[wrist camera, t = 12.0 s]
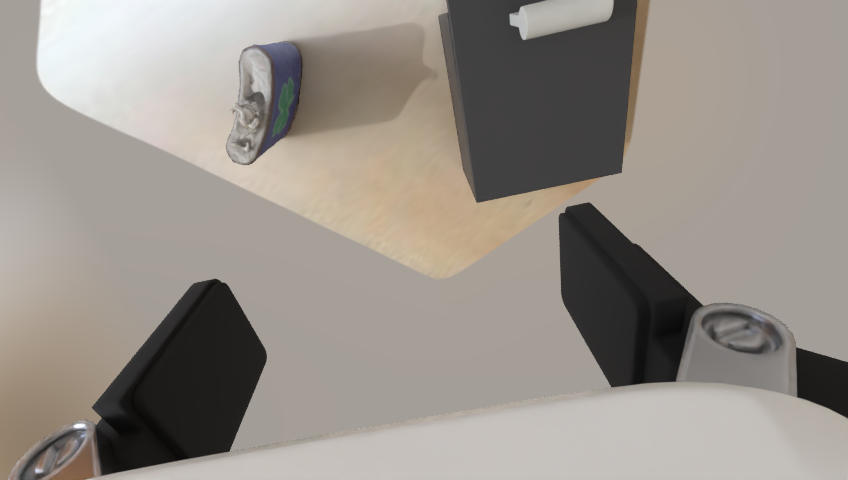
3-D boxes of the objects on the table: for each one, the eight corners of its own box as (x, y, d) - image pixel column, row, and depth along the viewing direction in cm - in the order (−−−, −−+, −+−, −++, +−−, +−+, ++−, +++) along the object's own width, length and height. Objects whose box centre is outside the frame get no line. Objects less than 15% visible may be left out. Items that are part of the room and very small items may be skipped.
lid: (446, -1, 26) (456, 0, 21) (635, -47, 25) (688, -56, 20) (475, 199, 34) (487, 230, 29) (617, 169, 33) (652, 196, 29)
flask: (277, 36, 34) (230, 41, 24) (310, 49, 34) (276, 59, 25) (260, 133, 38) (213, 170, 29) (289, 144, 39) (253, 182, 29)
